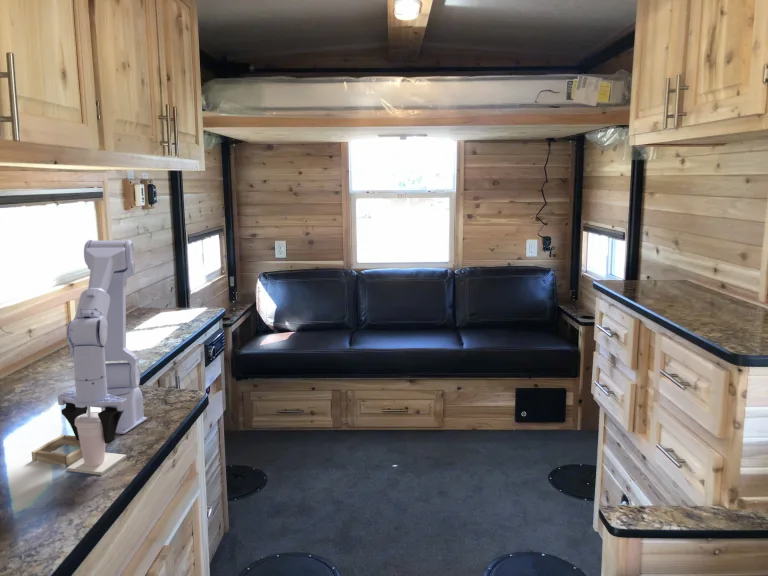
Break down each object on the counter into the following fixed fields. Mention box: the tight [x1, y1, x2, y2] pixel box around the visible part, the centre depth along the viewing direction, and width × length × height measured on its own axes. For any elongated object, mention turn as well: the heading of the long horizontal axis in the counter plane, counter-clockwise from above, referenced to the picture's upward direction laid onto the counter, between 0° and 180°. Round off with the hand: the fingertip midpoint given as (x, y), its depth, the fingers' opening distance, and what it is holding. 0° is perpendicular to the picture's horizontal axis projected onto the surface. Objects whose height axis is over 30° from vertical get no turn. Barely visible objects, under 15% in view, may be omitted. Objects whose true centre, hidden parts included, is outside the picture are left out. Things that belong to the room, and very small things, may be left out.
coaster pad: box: [66, 451, 127, 476], centre depth 127 cm, size 8×8×1 cm
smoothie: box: [75, 406, 107, 466], centre depth 125 cm, size 6×6×14 cm
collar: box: [31, 434, 83, 467], centre depth 131 cm, size 9×9×2 cm
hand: (95, 440), depth 126 cm, fingers closed on smoothie, 6 cm apart
